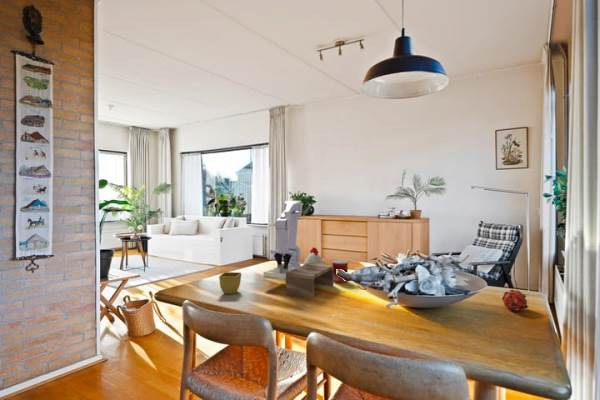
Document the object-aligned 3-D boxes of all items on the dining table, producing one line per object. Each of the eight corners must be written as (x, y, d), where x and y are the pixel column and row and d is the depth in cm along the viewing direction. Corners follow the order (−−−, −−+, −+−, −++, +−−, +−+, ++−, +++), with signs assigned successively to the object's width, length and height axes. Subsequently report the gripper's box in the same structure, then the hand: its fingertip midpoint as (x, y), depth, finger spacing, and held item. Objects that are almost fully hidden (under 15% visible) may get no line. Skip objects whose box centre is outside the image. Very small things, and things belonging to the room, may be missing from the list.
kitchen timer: (310, 276, 195) (309, 250, 195) (298, 271, 207) (298, 247, 207) (330, 273, 202) (330, 248, 202) (318, 268, 214) (317, 245, 214)
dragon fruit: (516, 309, 142) (516, 322, 132) (497, 295, 145) (496, 307, 135) (531, 295, 138) (532, 308, 128) (511, 281, 141) (511, 293, 131)
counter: (309, 282, 182) (309, 263, 181) (333, 285, 175) (333, 265, 175) (286, 294, 161) (285, 272, 160) (312, 299, 154) (312, 275, 154)
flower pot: (242, 290, 169) (241, 272, 169) (237, 295, 160) (236, 276, 160) (224, 289, 170) (224, 272, 170) (219, 295, 161) (218, 276, 161)
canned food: (348, 283, 179) (348, 262, 178) (333, 283, 179) (333, 262, 179) (346, 279, 186) (346, 259, 186) (332, 279, 187) (332, 259, 186)
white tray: (280, 272, 185) (280, 261, 185) (301, 274, 179) (301, 263, 179) (263, 277, 171) (263, 265, 171) (285, 280, 165) (285, 268, 165)
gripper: (266, 242, 175) (266, 268, 175) (290, 244, 168) (291, 271, 168) (274, 240, 181) (274, 265, 181) (297, 242, 174) (298, 268, 174)
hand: (283, 268), depth 175 cm, fingers closed on white tray, 3 cm apart
